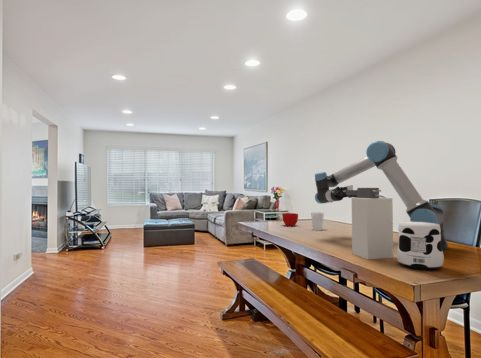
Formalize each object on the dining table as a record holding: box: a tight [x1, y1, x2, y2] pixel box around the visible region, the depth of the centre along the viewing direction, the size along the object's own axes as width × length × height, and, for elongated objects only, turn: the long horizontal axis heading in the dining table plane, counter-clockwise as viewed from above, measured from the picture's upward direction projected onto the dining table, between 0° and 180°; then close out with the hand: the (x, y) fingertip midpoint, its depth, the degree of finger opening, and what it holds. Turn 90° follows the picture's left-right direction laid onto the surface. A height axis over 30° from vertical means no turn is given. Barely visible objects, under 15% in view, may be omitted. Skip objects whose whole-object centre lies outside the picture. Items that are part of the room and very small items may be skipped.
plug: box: [346, 187, 382, 198], centre depth 158 cm, size 19×6×5 cm, turn 28°
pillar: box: [351, 197, 394, 260], centre depth 152 cm, size 12×14×28 cm
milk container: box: [395, 221, 445, 270], centre depth 132 cm, size 17×17×18 cm
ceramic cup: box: [281, 212, 299, 227], centre depth 260 cm, size 13×17×10 cm
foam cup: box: [310, 211, 325, 231], centre depth 236 cm, size 10×9×13 cm
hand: (361, 189), depth 169 cm, fingers open, 13 cm apart
